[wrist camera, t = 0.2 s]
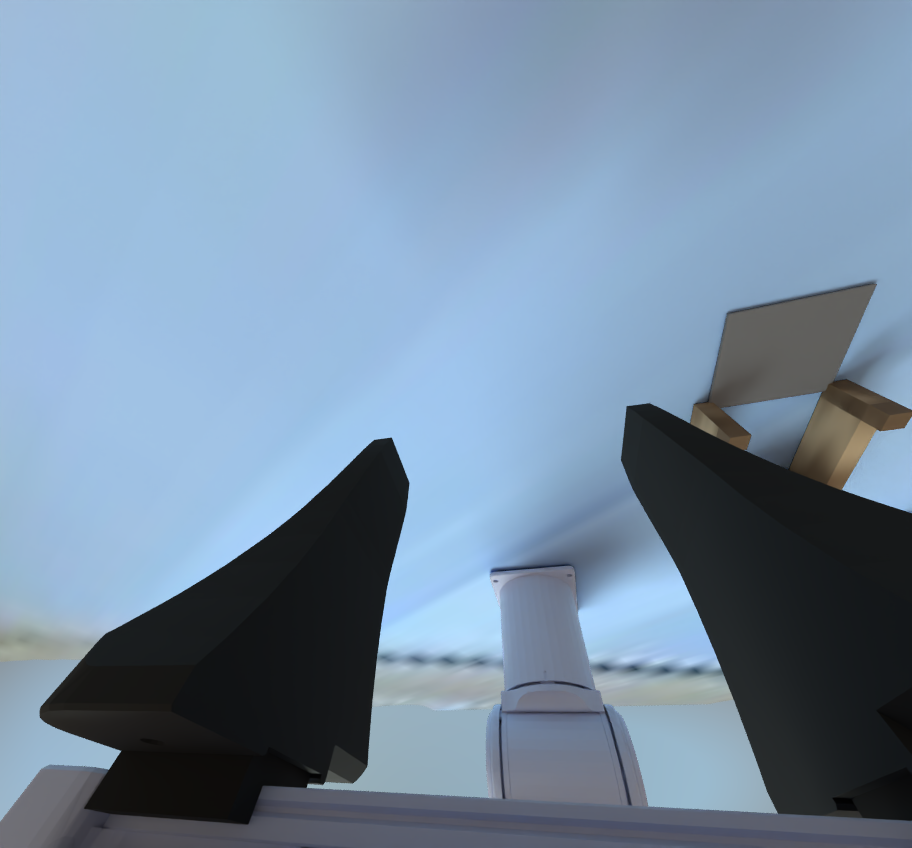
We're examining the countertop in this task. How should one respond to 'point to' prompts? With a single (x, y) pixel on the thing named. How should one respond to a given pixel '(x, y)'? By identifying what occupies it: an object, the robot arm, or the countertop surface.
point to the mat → (786, 347)
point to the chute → (822, 430)
